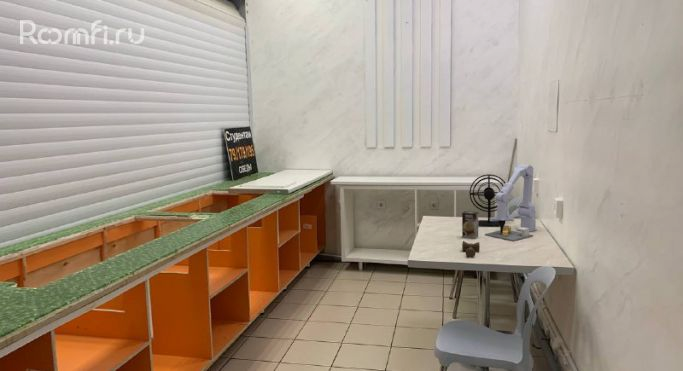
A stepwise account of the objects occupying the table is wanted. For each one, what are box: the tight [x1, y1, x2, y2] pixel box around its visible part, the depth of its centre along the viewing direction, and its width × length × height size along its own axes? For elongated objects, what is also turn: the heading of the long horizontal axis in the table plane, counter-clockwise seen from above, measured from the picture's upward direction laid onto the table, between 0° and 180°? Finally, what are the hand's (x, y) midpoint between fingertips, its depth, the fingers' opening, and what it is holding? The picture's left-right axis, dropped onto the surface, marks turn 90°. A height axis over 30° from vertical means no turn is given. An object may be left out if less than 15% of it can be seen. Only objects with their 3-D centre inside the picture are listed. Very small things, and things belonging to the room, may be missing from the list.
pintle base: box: [484, 224, 534, 242], centre depth 317 cm, size 19×22×5 cm
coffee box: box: [461, 211, 479, 240], centre depth 318 cm, size 9×6×16 cm
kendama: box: [461, 240, 481, 258], centre depth 282 cm, size 6×10×20 cm
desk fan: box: [469, 173, 506, 227], centre depth 351 cm, size 27×18×35 cm, turn 75°
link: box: [499, 225, 512, 236], centre depth 320 cm, size 16×6×3 cm, turn 161°
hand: (501, 232), depth 319 cm, fingers closed, pressing on link
